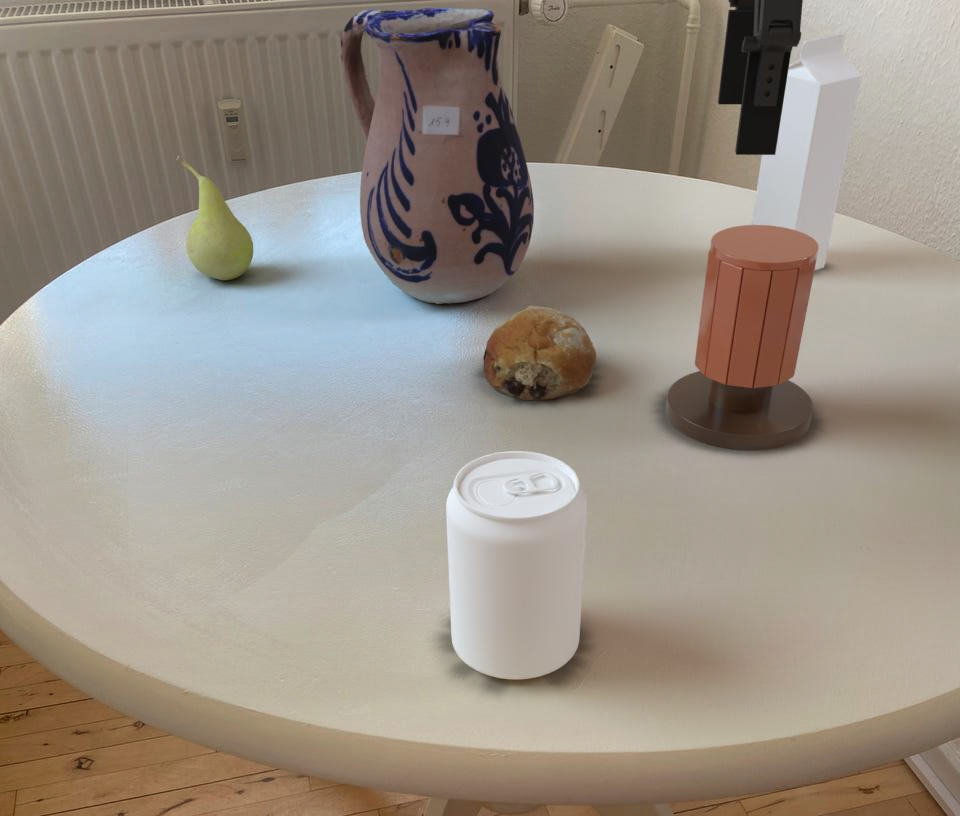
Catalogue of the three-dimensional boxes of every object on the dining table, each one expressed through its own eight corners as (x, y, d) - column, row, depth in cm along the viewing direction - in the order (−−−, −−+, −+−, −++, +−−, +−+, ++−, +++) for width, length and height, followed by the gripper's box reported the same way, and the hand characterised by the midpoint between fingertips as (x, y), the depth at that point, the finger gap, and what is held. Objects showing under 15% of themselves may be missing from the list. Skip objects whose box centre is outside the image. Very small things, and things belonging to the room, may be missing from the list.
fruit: (228, 295, 111) (207, 175, 103) (175, 281, 114) (151, 164, 106) (269, 274, 115) (252, 157, 108) (218, 261, 118) (198, 147, 111)
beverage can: (436, 619, 70) (428, 460, 62) (551, 594, 71) (557, 437, 64) (474, 699, 64) (470, 535, 56) (598, 670, 66) (611, 506, 58)
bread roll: (601, 419, 97) (631, 333, 94) (533, 412, 89) (564, 317, 86) (522, 385, 102) (548, 302, 99) (452, 375, 94) (477, 284, 92)
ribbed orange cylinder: (798, 350, 89) (821, 229, 82) (790, 393, 83) (815, 267, 77) (703, 339, 91) (718, 220, 84) (688, 380, 85) (704, 256, 78)
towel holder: (814, 392, 93) (847, 231, 84) (804, 460, 84) (840, 288, 75) (677, 375, 96) (696, 217, 87) (654, 440, 87) (672, 272, 78)
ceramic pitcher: (480, 336, 102) (475, 46, 86) (305, 296, 111) (271, 23, 94) (561, 275, 114) (570, 8, 98) (397, 242, 122) (380, -9, 106)
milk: (824, 268, 114) (872, 38, 100) (785, 281, 112) (829, 47, 98) (781, 251, 118) (821, 27, 104) (743, 264, 116) (779, 36, 101)
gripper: (715, -240, 76) (683, 85, 90) (756, -234, 57) (708, 178, 71) (821, -242, 75) (773, 85, 89) (898, -237, 56) (822, 178, 70)
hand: (744, 127), depth 80 cm, fingers open, 13 cm apart
